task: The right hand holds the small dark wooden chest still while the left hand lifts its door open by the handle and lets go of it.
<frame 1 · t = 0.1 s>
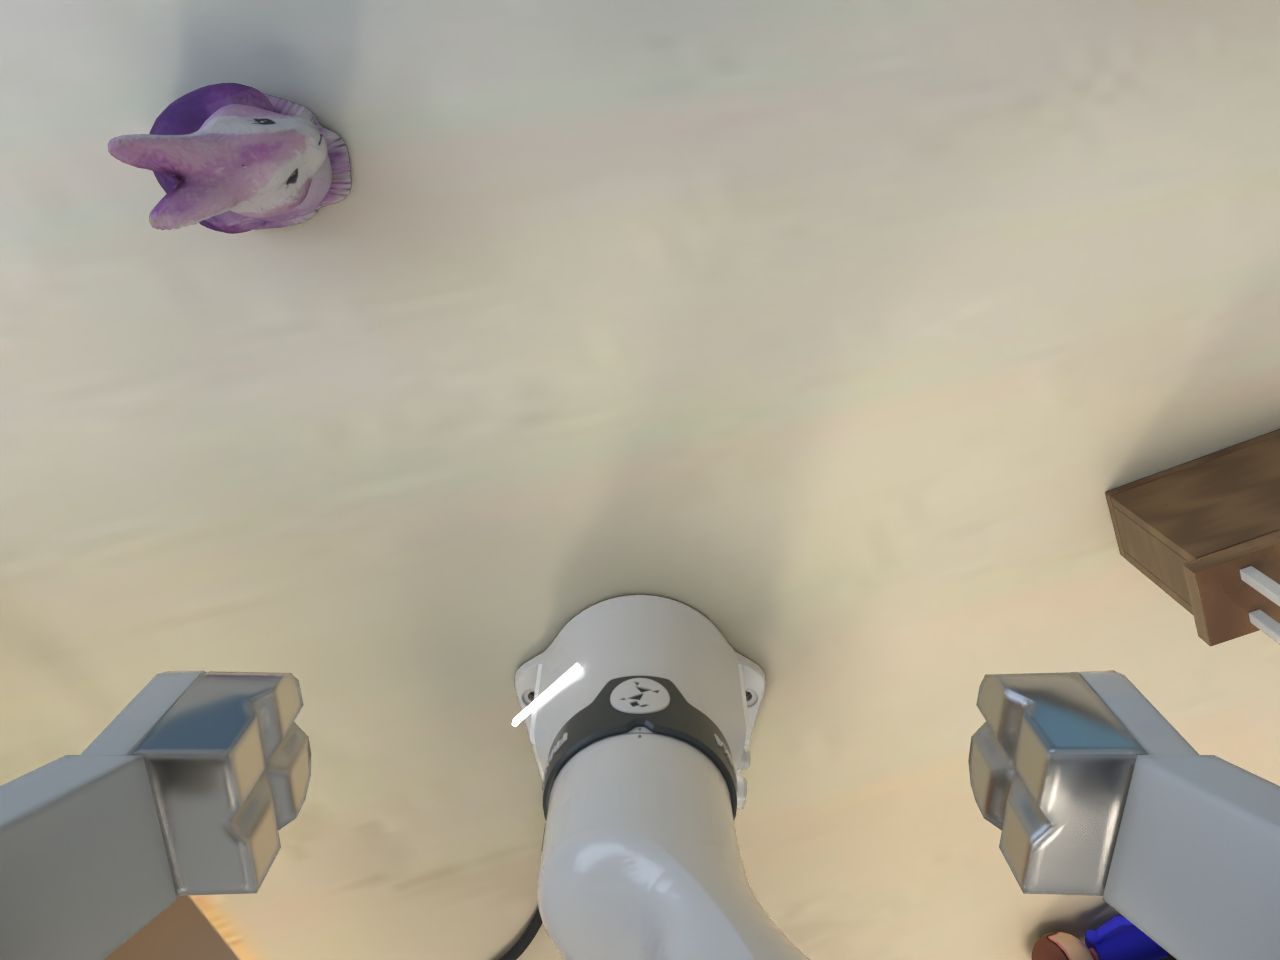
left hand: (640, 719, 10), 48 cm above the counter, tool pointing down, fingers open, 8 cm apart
figurine: (279, 156, 53), on the counter
chest: (1212, 488, 61), on the counter
figurine character: (1110, 924, 75), on the counter
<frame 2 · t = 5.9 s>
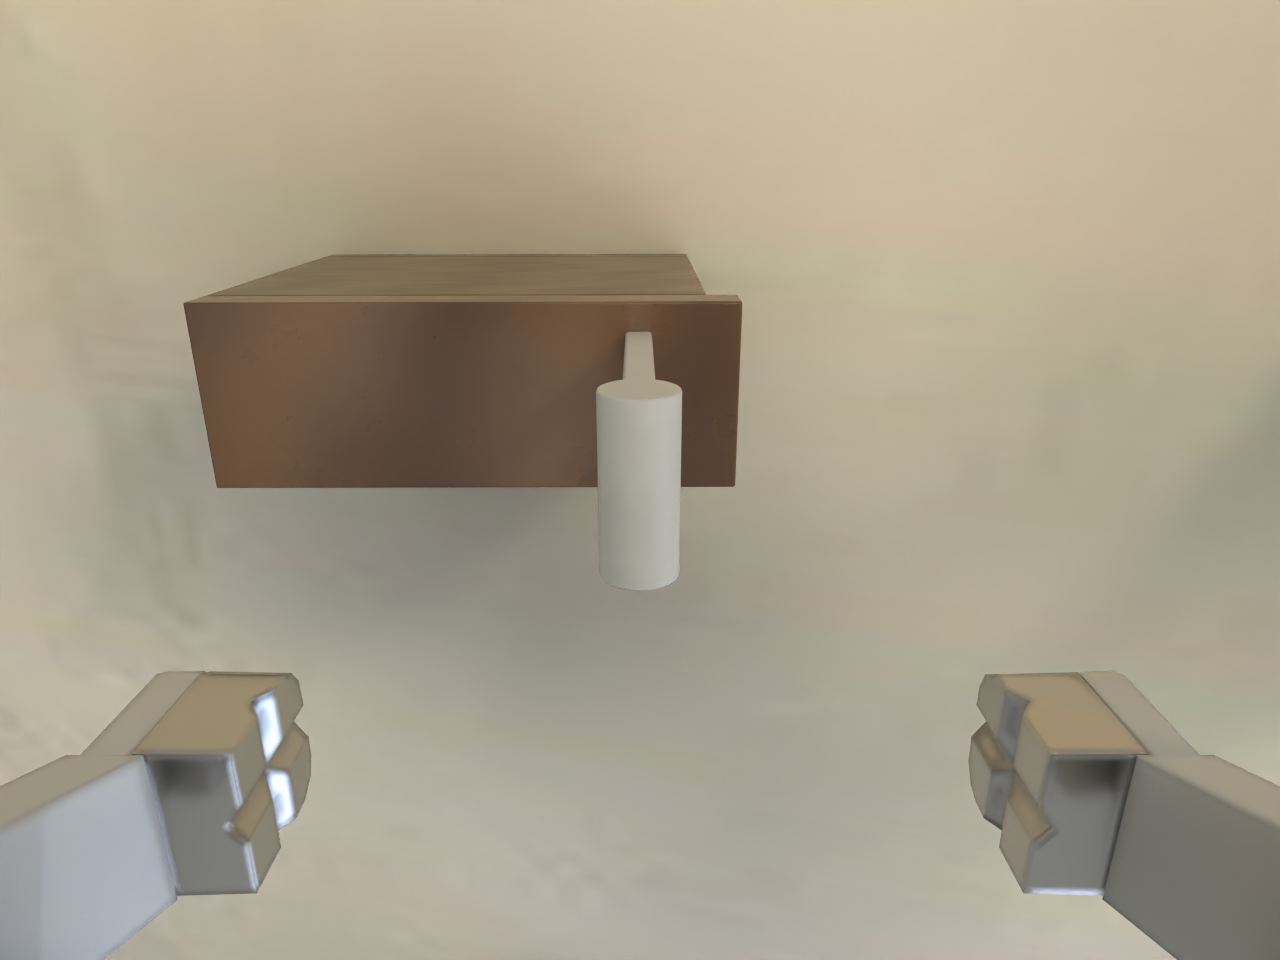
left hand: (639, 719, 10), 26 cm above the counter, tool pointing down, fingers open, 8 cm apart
door: (445, 432, 21), point 15 cm above the counter, hinge at 0.0°
chest: (512, 321, 35), on the counter
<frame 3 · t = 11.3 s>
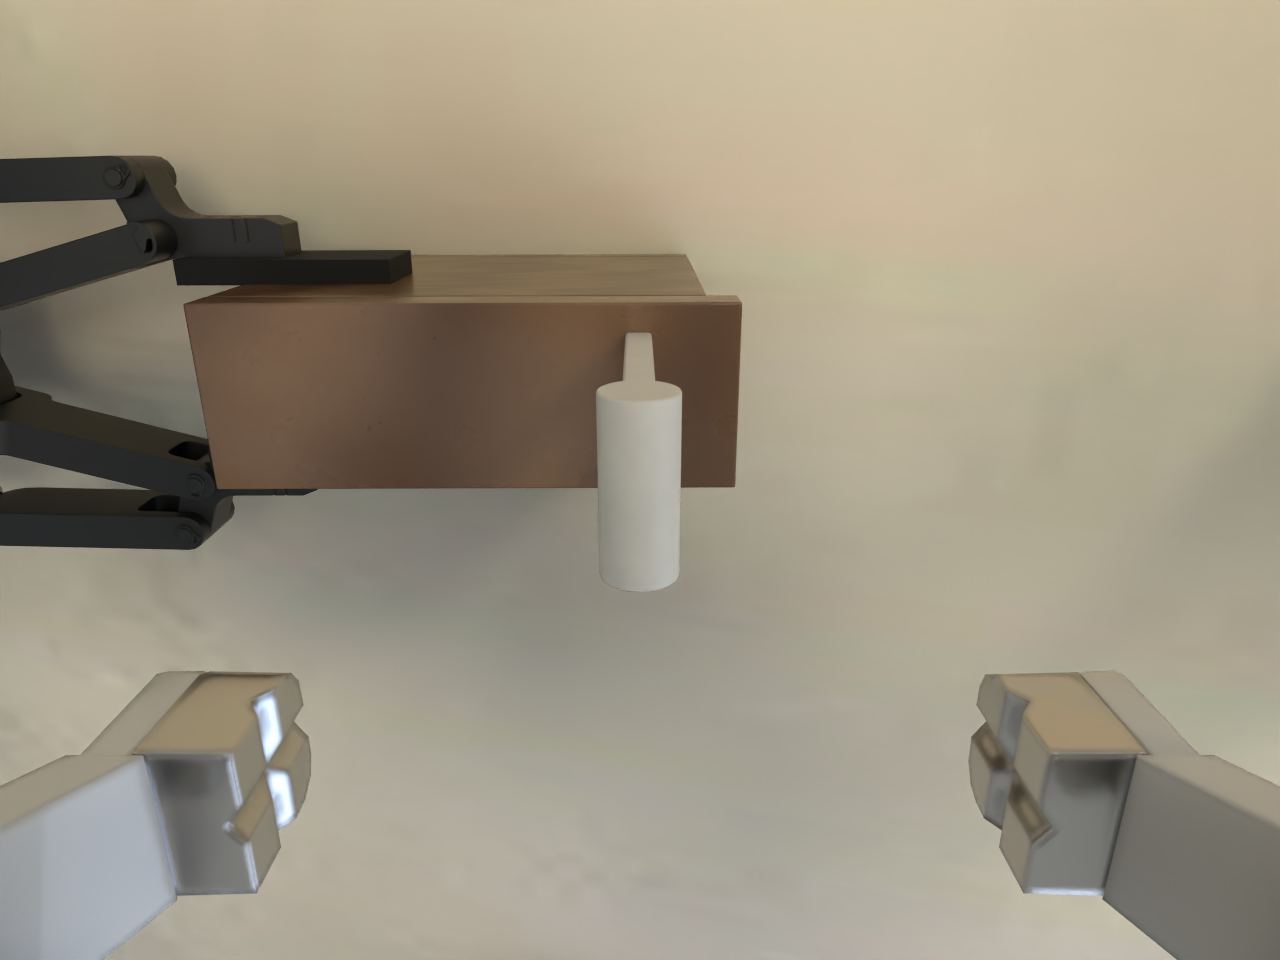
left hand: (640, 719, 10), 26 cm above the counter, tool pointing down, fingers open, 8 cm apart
right hand: (408, 359, 29), fingers closed on chest, 5 cm apart
door: (445, 434, 21), point 15 cm above the counter, hinge at 0.0°
chest: (512, 321, 35), on the counter, touching right hand
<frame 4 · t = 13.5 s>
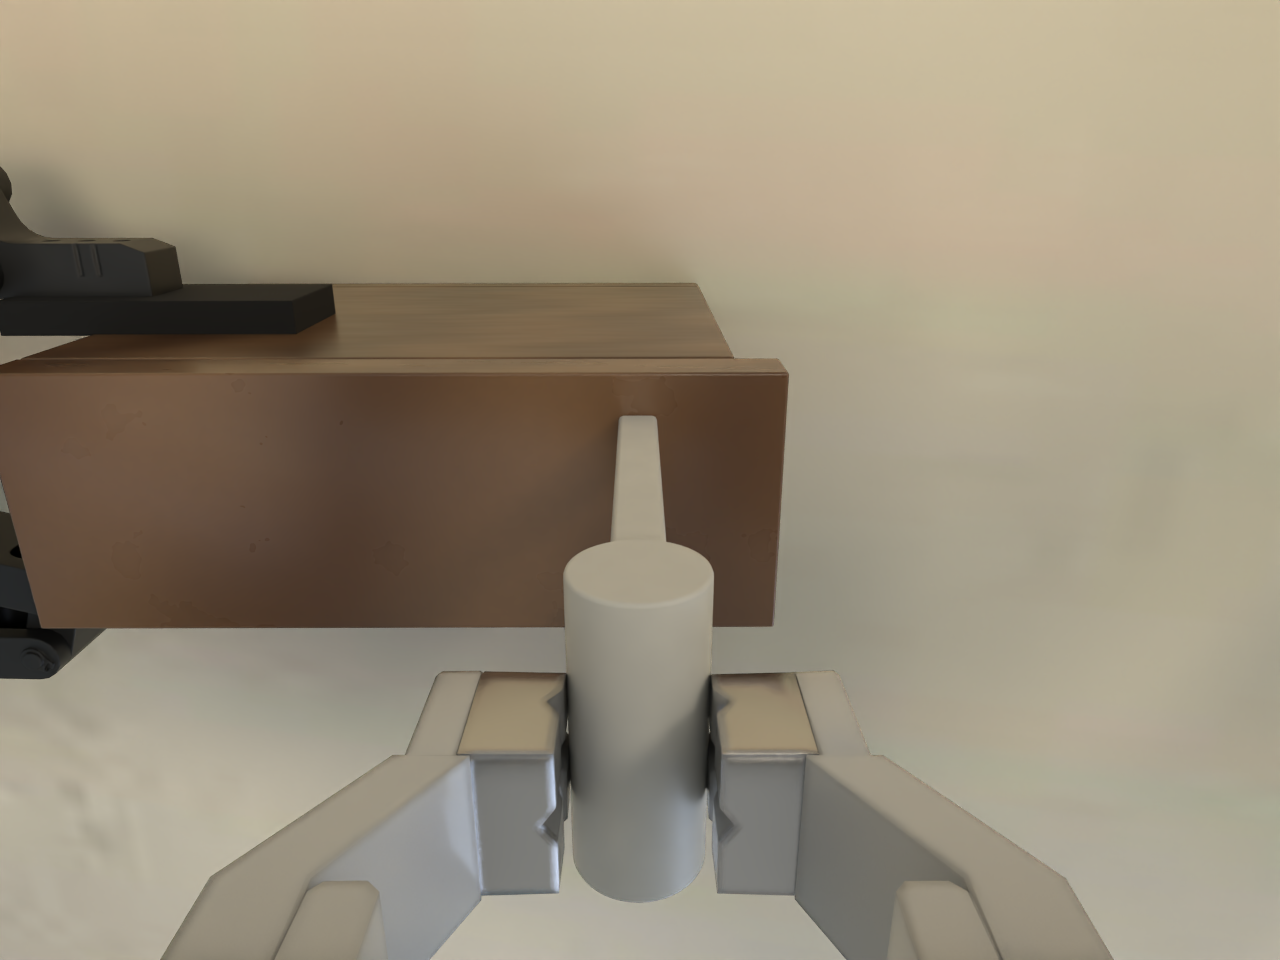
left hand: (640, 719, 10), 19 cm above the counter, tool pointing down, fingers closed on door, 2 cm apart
door: (342, 583, 14), point 15 cm above the counter, hinge at 0.2°, touching left hand
chest: (478, 366, 28), on the counter, touching right hand
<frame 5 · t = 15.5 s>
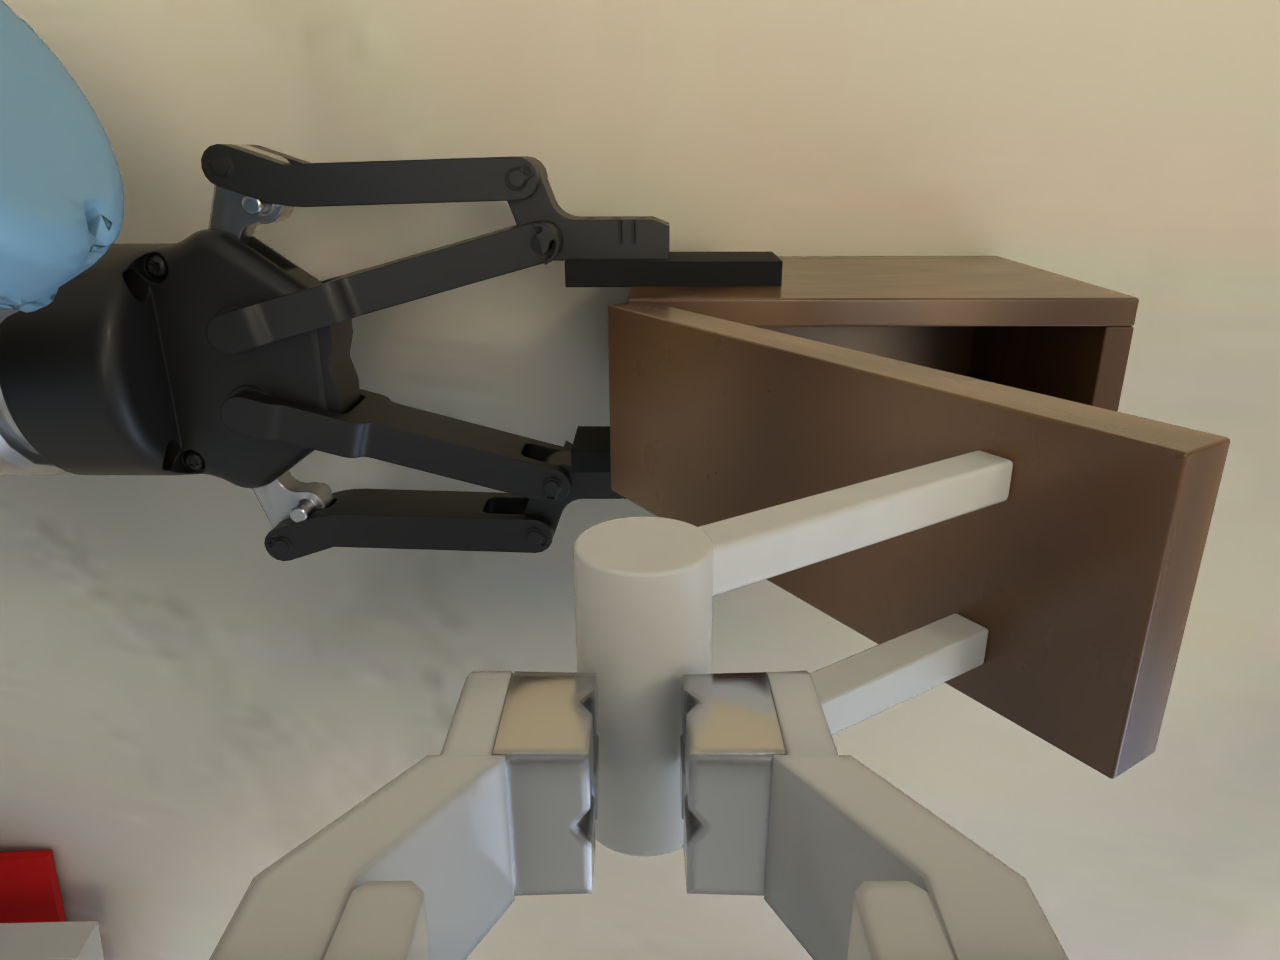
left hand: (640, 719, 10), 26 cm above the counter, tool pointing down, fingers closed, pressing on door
right hand: (770, 362, 28), fingers closed on chest, 5 cm apart
door: (666, 510, 17), point 20 cm above the counter, hinge at 55.9°, touching left hand
chest: (812, 323, 35), on the counter, touching right hand
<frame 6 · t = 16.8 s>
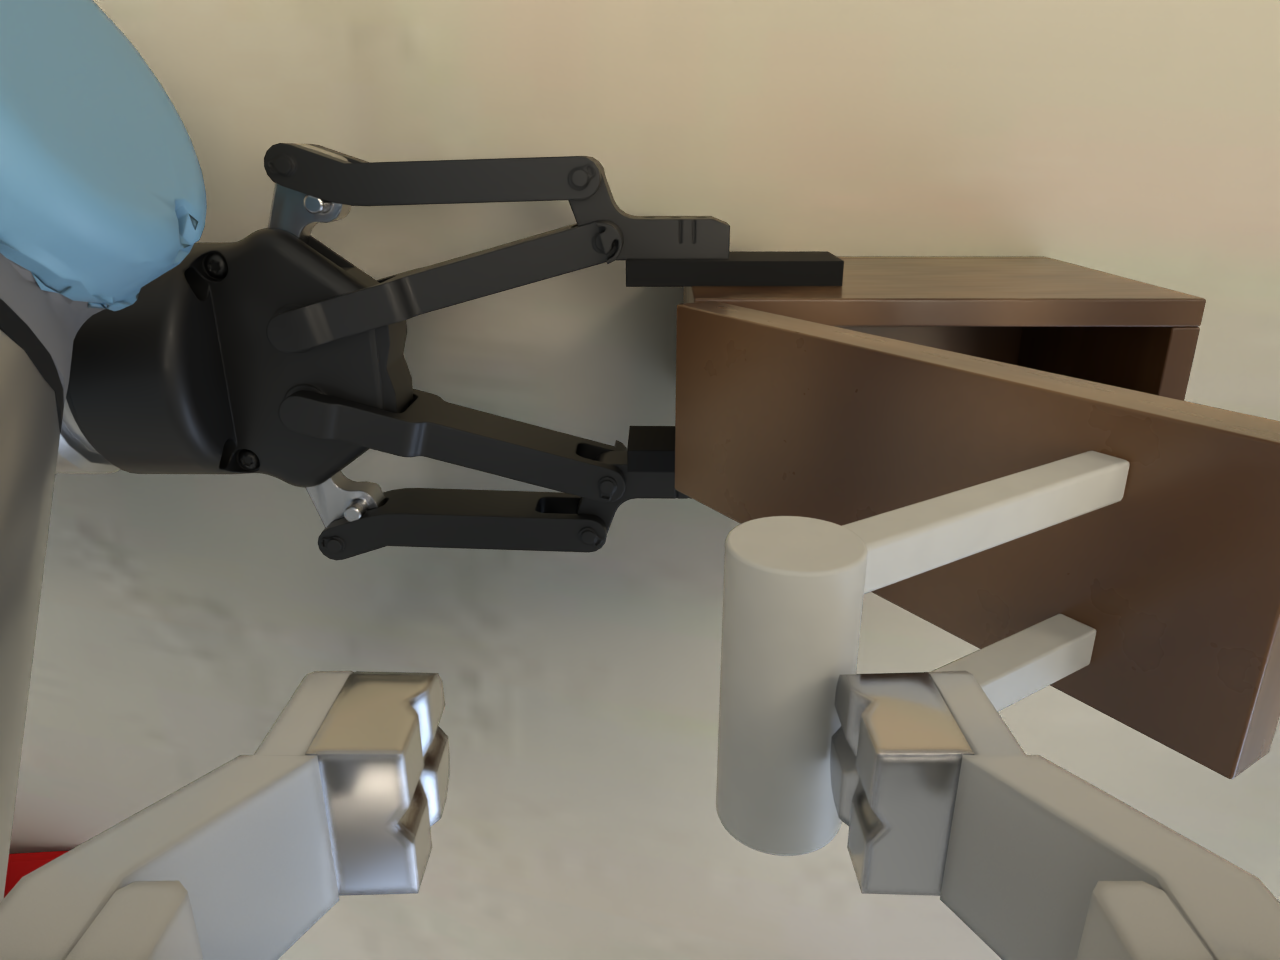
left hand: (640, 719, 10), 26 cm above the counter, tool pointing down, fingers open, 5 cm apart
right hand: (826, 361, 28), fingers closed on chest, 5 cm apart
door: (762, 510, 17), point 20 cm above the counter, hinge at 55.9°, touching left hand
chest: (858, 324, 35), on the counter, touching right hand
when the right hand's fingers open (7 cm above the counter, at t = 20.6 s): chest stays where it is, on the counter.
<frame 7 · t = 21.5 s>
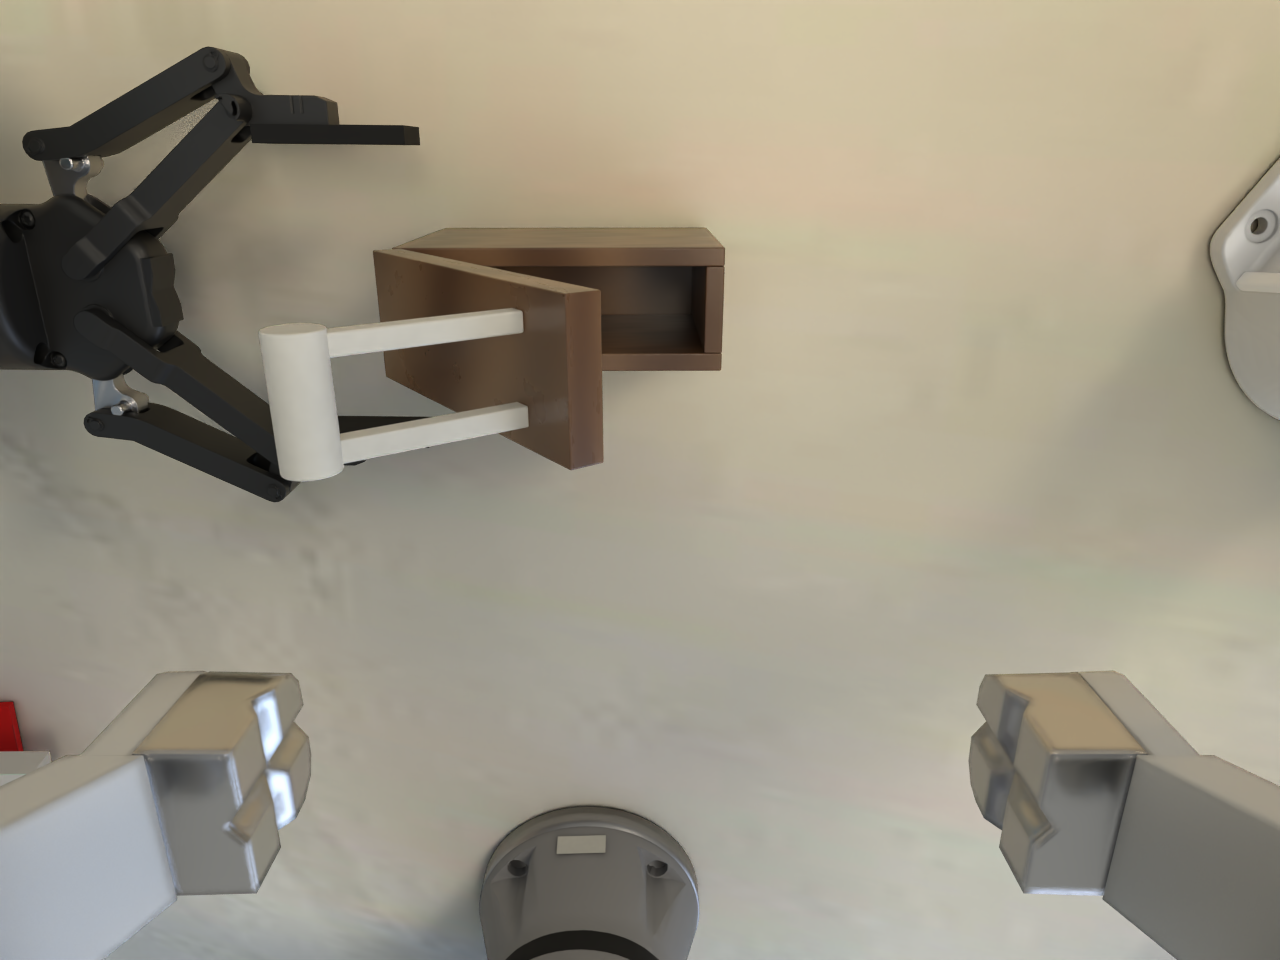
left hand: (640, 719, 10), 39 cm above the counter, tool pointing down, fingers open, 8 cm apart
right hand: (425, 292, 41), fingers open, 13 cm apart
door: (369, 355, 29), point 20 cm above the counter, hinge at 53.5°
chest: (577, 278, 47), on the counter
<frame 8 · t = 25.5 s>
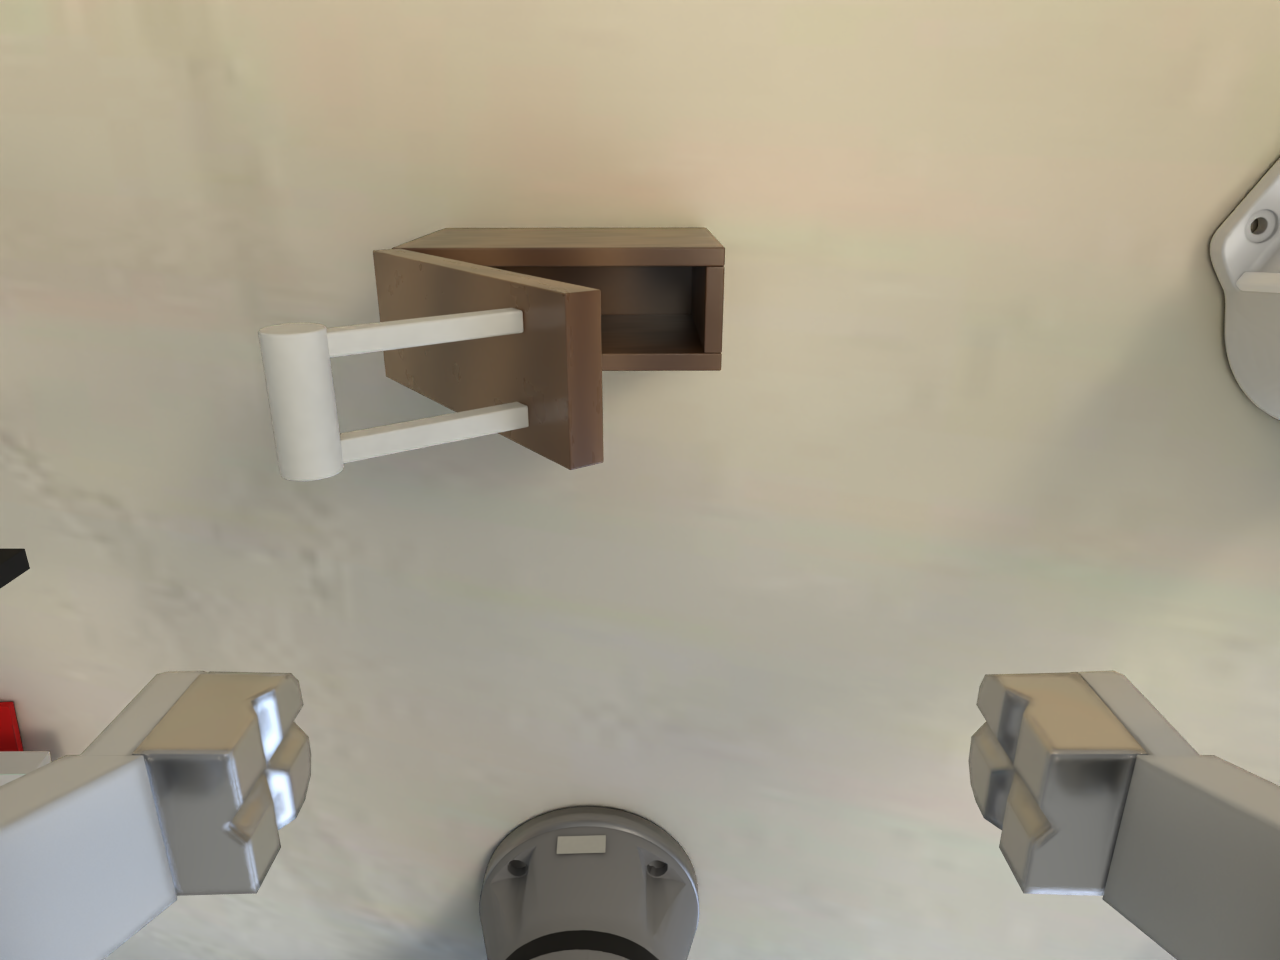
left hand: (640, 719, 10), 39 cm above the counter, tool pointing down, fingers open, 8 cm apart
door: (368, 355, 29), point 20 cm above the counter, hinge at 53.5°
chest: (577, 278, 47), on the counter
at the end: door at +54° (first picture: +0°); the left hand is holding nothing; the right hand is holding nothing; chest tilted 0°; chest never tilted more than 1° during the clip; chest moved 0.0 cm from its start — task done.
